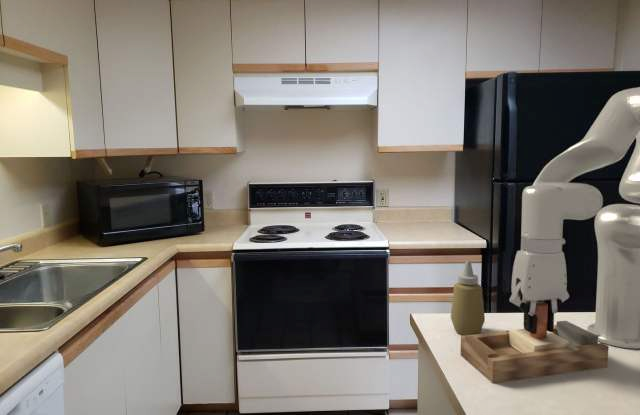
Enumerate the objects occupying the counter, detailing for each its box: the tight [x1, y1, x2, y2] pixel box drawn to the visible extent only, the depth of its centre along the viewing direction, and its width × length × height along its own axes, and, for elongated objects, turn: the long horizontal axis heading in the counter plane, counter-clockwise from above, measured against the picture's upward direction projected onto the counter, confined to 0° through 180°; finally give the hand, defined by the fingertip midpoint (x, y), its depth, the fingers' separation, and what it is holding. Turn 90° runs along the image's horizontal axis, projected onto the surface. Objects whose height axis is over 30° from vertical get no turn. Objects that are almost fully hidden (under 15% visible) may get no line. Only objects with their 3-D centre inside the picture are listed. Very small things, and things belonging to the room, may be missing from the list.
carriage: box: [508, 301, 569, 353], centre depth 90 cm, size 8×8×10 cm
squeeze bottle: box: [450, 260, 486, 336], centre depth 105 cm, size 8×8×18 cm
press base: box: [460, 320, 610, 384], centre depth 90 cm, size 26×12×6 cm, turn 101°
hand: (538, 329), depth 90 cm, fingers closed on carriage, 3 cm apart
